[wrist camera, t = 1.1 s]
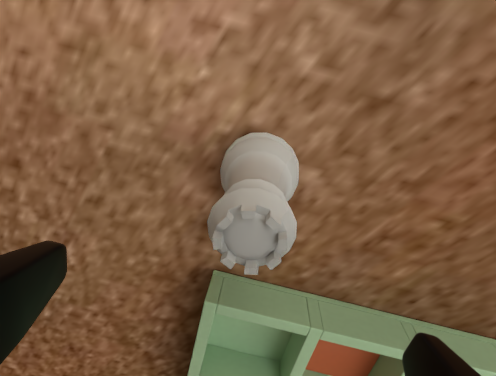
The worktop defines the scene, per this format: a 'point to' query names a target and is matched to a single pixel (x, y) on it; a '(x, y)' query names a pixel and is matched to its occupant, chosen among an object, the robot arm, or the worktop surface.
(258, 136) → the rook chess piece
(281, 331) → the grid
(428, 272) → the worktop surface
